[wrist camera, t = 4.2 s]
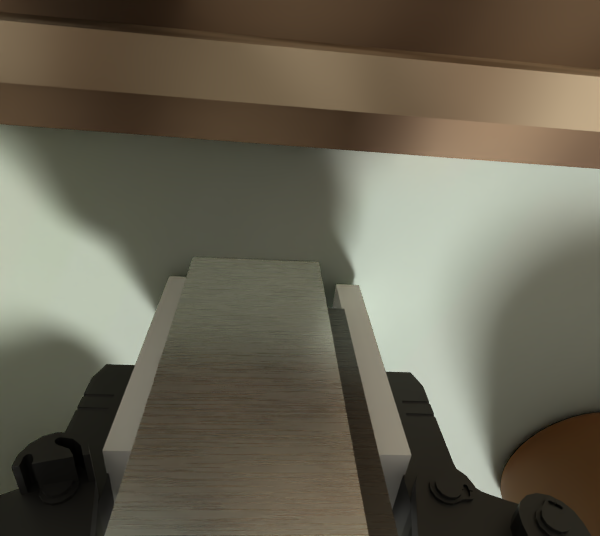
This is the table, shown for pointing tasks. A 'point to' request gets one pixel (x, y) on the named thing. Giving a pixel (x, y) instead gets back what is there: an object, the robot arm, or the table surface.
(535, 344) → the table surface
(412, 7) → the rail
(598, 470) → the mug
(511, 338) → the table surface
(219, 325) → the block
